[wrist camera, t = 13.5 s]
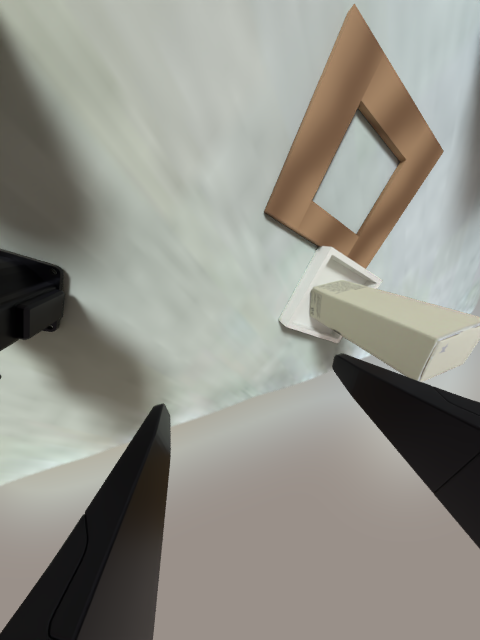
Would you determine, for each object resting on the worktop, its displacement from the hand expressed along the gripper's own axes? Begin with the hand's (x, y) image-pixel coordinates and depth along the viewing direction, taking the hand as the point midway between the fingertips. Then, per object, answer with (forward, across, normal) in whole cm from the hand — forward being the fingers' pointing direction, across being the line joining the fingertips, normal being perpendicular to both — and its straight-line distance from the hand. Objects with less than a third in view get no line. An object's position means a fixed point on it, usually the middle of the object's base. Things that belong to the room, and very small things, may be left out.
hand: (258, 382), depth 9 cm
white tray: (+13, -15, +3) cm, 20 cm away
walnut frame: (+13, -16, -10) cm, 23 cm away
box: (+13, -14, +2) cm, 19 cm away
